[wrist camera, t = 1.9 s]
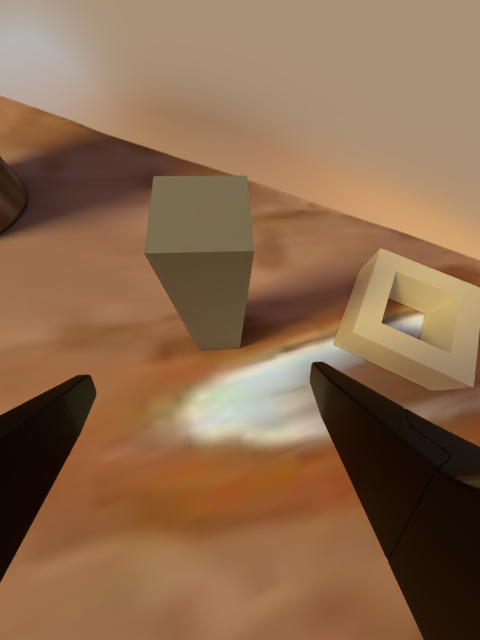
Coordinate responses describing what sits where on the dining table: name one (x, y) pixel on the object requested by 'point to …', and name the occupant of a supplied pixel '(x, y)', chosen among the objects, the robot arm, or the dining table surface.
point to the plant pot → (10, 196)
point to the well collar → (437, 330)
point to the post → (203, 253)
